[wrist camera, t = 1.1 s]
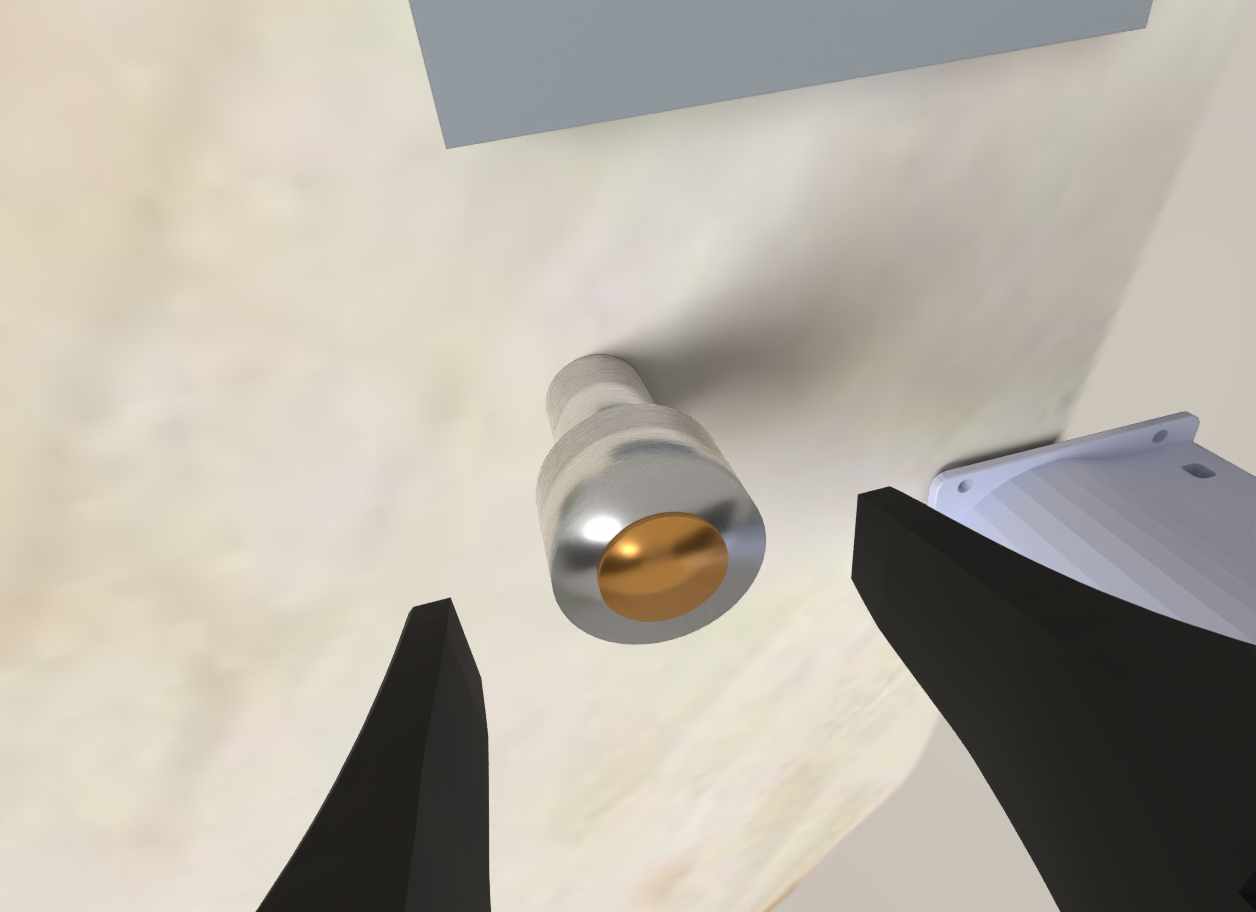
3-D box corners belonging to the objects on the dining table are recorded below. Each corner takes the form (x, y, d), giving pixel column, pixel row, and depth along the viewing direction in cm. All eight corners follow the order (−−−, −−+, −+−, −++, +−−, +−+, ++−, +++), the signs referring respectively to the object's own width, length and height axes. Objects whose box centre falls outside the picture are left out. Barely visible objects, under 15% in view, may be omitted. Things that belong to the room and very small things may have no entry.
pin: (662, 313, 17) (769, 455, 11) (676, 447, 19) (771, 621, 14) (502, 347, 16) (531, 511, 11) (535, 481, 19) (574, 674, 13)
